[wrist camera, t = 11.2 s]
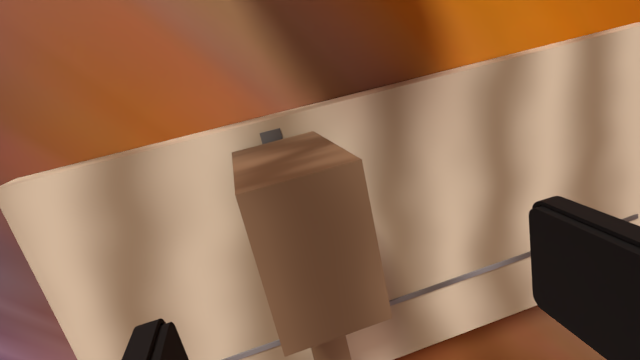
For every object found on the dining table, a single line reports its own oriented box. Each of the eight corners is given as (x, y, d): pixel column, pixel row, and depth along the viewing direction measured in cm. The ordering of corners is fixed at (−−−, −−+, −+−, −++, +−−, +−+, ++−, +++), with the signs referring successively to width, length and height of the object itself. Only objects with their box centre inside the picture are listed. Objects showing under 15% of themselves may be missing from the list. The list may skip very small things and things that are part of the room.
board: (636, 22, 24) (673, 17, 22) (629, 247, 29) (659, 259, 27) (15, 178, 18) (-11, 190, 16) (136, 428, 23) (128, 461, 21)
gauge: (313, 130, 18) (361, 159, 12) (362, 346, 22) (419, 458, 16) (231, 152, 18) (235, 195, 11) (296, 370, 22) (327, 497, 15)
